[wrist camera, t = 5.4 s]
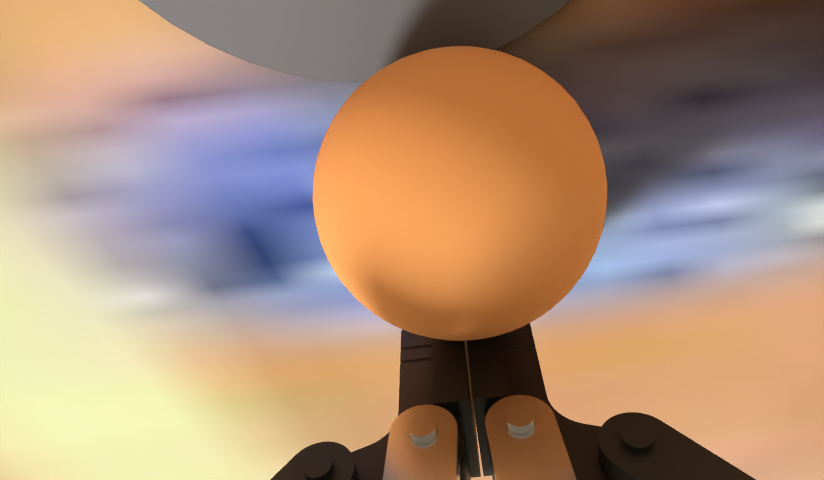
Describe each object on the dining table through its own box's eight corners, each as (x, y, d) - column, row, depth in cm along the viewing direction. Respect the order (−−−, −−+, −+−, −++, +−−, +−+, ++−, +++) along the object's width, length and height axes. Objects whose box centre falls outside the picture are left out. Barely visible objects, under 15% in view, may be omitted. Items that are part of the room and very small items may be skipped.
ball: (344, 430, 11) (287, 125, 8) (328, 263, 16) (289, 35, 13) (645, 375, 12) (689, 73, 9) (542, 230, 16) (550, 5, 14)
